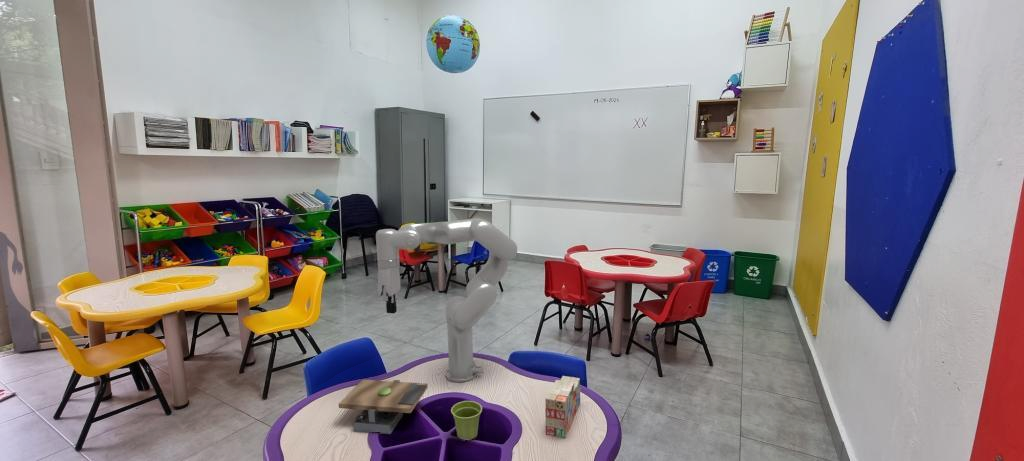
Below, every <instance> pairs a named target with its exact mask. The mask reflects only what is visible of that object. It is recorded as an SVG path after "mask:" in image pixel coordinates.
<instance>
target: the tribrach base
mask: <svg viewBox="0 0 1024 461" xmlns="http://www.w3.org/2000/svg"><path fill="white" fill-rule="evenodd" d="M393 381H394V382H401V381H400V380H398V379H394V380H393ZM403 416H404V415H403V413H402V412H387V411H378V412H377V413H376V409H369V410H362V412H361V413H358V414H357V415H356V419H355V420H354V421H353V432H356V433H367V434H368V433H370V434H371V432H375V431H379V432H380V433H379V434H384V435H385V434H386V435H391V434H392V433H393V431H394V429H395V428H396V426H398V423H399V422H400V421H401V419H402V418H403Z"/></svg>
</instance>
